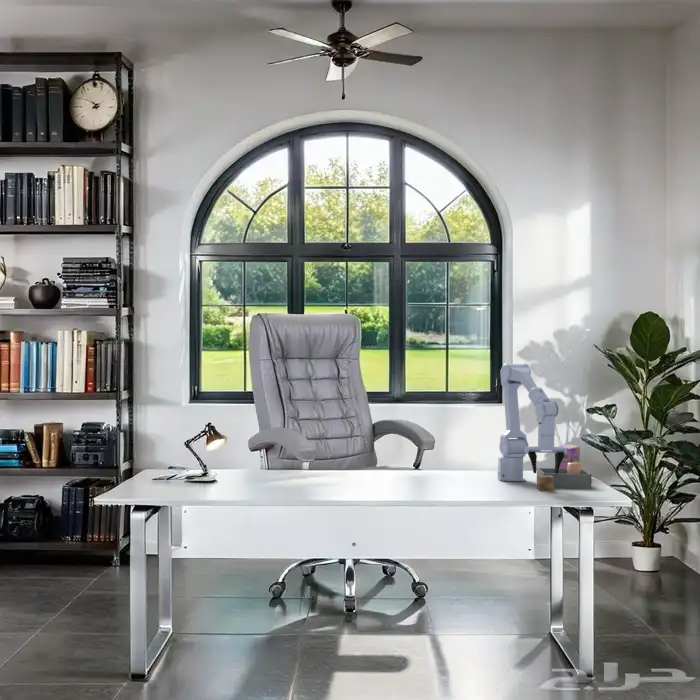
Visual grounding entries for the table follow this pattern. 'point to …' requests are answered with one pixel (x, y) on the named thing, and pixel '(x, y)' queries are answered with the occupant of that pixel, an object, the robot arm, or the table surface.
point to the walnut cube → (545, 482)
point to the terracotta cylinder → (573, 468)
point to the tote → (567, 478)
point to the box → (570, 455)
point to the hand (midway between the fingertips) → (545, 473)
